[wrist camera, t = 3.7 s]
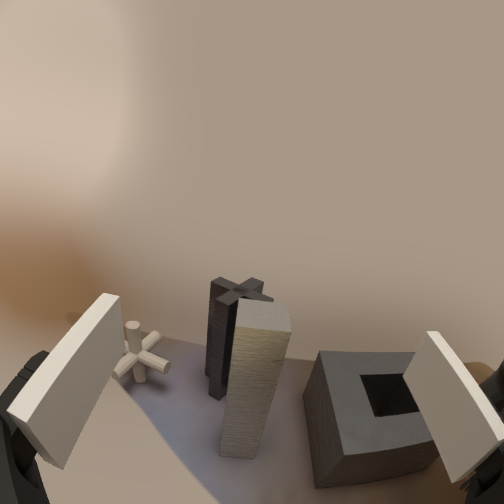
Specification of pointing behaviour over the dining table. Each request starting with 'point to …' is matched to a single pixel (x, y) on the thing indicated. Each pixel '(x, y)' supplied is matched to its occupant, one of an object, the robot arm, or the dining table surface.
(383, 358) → the bore block
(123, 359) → the pipe connector
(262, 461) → the dining table surface
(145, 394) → the dining table surface
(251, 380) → the square bit
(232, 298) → the cross bit
